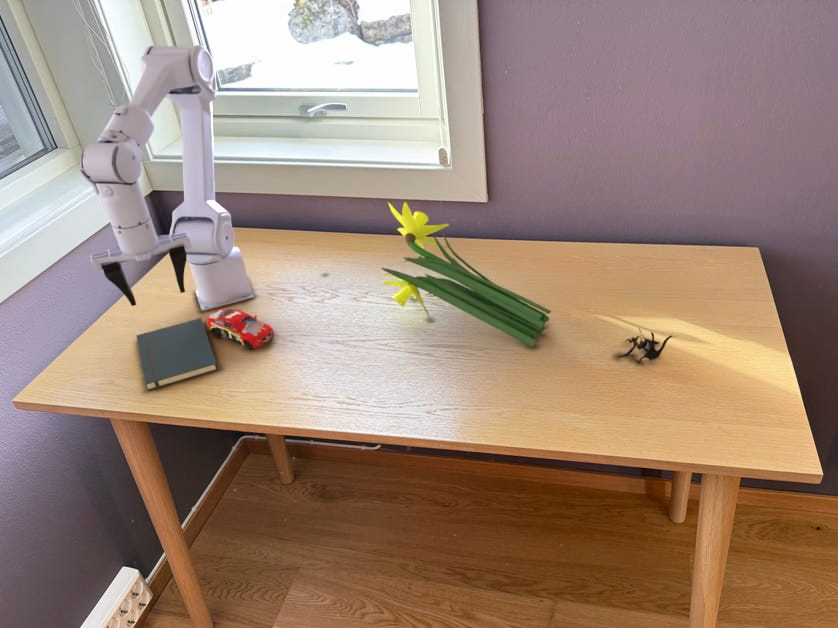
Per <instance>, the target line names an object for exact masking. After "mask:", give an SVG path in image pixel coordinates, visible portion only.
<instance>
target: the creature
mask: <svg viewBox="0 0 838 628" xmlns="http://www.w3.org/2000/svg"><path fill="white" fill-rule="evenodd" d="M638 331H639V333H640V334H639V335H637V336H636V337H634V336H632V337H631V338H626V340H625V342H627V341H628V342H629V344H632V343H633V345H632V347H631V348H630V349H629V351H628V352H627V353H624V354H619V355H618V358H624V357H632V358H633V361H636V363H638V364H641V361H642V360H643V359H644V358H646V359H648V360H649V361H653V360H655V359H657V358H659V357H660V355H661V354H662V352H663V351H664V349H665V347H666V344H667V342H668V341H669V340H670V339H671V338H672V337H674V335H669V336H668V337H666V338H665V339H664V340H663V341H662V344H661V347H660V348H659V349H658V350H656V345H658V344H660V341H656V340H655V334H654V332H652V331H651V332H650V334H651V337H652V338H651V339H649V338H646V337H644V336H643V333H642V331H641V329H640V328H638ZM639 339H640V340H639ZM642 339H643V340H642ZM638 340H639V341H640V342H638ZM635 348H637V349H638V350H643V351H645V352H646V353H644V355H643V356H641V357H640V358H639V360H638V359H635V358H634V356H635V355H634V354H632V353H633V351H634V350H635Z"/></svg>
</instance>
